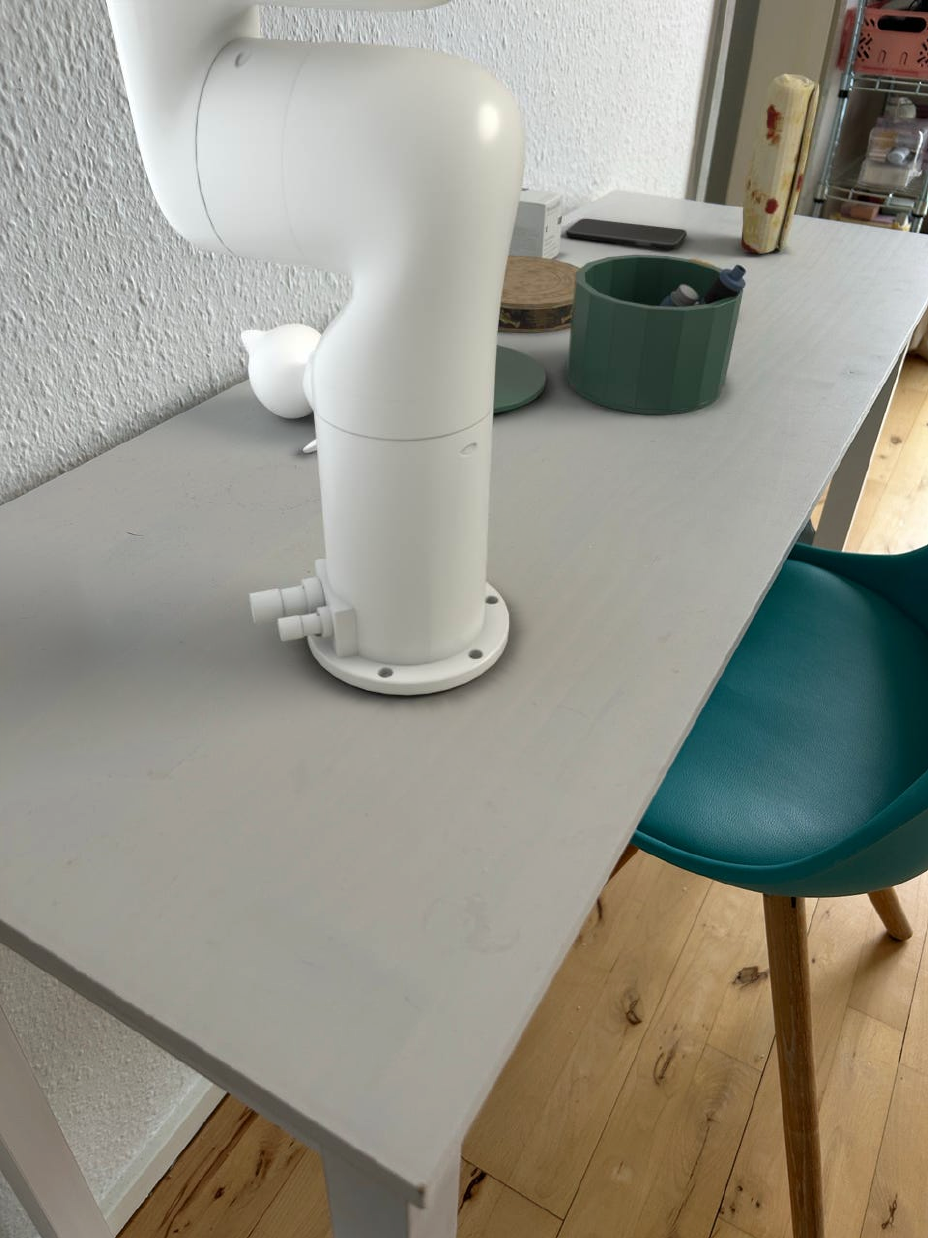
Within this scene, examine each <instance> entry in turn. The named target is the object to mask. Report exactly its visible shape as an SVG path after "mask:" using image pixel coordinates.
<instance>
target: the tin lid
mask: <svg viewBox="0 0 928 1238" xmlns="http://www.w3.org/2000/svg"><path fill="white" fill-rule="evenodd" d="M546 382H547V375H546V371H545V369H544V368H543V366H542V365H541V364H540V363H539V362H538V361H537V360H535V359H534V358H532V357H531V356H529V355H528V354H525V353H523V352H521V351H520V350H516V349H513V348H510V347H506V346H502V345H500V344H497V347H496V362H495V383H494V403H493V414H497V413H502V412H506V411H510V410H511V411H512V410H514V409H516V408H517V409H518V408H520V407H522V406H525V405H527V404H529V403H531V402H533V400H535V399H537V398H538V397H539V396H540V395H541V394H542V393H543V391H544V390H545V387H546Z"/></svg>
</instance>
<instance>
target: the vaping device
mask: <svg viewBox="0 0 928 1238" xmlns="http://www.w3.org/2000/svg"><path fill="white" fill-rule="evenodd" d="M746 273H747V270H746V268H745V267H744V266H742V265H741V264H735V265H734V267H733V268H732V269H731V268H723V271H722V272H721V274H720V275H719V276H718V278H717V279H716V280H715V282H714V283H713V284H712V286H711V287H710V289H709V290H708V291H707V293H706V294H705V295H704V297H703V298H702V299H701V301H700V302H699V303H698V302H696V301H697V300H698V298H699V296H698V294H697V292H696V291H695V290H694V289H692V288H691V287H689V286H687V285H684V284H682V285H680V286H679V287H678V289H677V290H676V292H672V293H671V295H670V296H667V297H666V298H665V299H664V300H663V302H662V303H661V304H660V306H667V307H686V306H695V305H705V304H711V303H713V302H716V301H719V300H722V299H725V298H727V297H732V296H734V297H735V296H738V295H739V293H740V292H741V291H742V289H743V290H744V289H745V287H746V284H747V283H746V281H745V279H744V278H743V277H745V275H746ZM733 292H736V293H733Z"/></svg>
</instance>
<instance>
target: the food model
mask: <svg viewBox="0 0 928 1238" xmlns="http://www.w3.org/2000/svg"><path fill="white" fill-rule="evenodd" d="M819 95H820V84H819V82H816V81H813V80H810V79H809V78H807V77H806V76H804V75H801V74H787V73H783V74H780V75H778V76H776V77H774V78H773V79H772V81H770V83H769V85H768V88H767V92H766V96H765V98H764V103H763V105H762V106H763V107H762V110H761V114H760V118H759V122H758V124H757V128H756V132H755V136H754V140H753V146H752V151H751V154H750V160H749V165H748V169H747V173H746V179H745V187H744V195H743V196H744V197H743V204H742V226H741V240H740V241H741V242H740V243H741V247H742V249H744V251H745V252H746V253H755V254H767V253H770V252H773V251H774V250H776V248H777V247H778V249H779V251H783V250H785V248H786V246H787V243H788V239H789V235H790V232H791V227H792V223H793V219H794V215H795V212H796V207H797V203H798V199H799V195H800V191H801V187H802V182H803V179H804V173H805V169H806V164H807V159H808V155H809V149H810V148H809V147H810V142H811V141H810V140H811V138H812V131H813V127H814V122H815V117H816V112H817V108H818V102H819Z"/></svg>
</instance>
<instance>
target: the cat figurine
mask: <svg viewBox="0 0 928 1238" xmlns="http://www.w3.org/2000/svg"><path fill="white" fill-rule="evenodd" d="M321 335H322V334H321V333H320V332H319V331H318V330H316V329H315V328H314V327H311V326H309V325H306V324H302V323H296V322H295V323H286V324H285V323H284V324H281V325H278V326H275V327H274V328H271V329H269V330H260V329H245V330H242V332H241V333H240V338H241V341H242V344H243V345H244V348H245V349H246V351H247V353H248V364H247V365H248V367H247V369H248V370H247V371H248V372H247V373H248V379H249V383H250V387H251V389H252V390H253V392H254V395H255V396H256V397H257V399H258V401H259V402H260V403H261V404H262V405H263V406H264V407H265V408H266V409H267V410H268V411H270V412H271V413H273V414H274V415H276V416H279V417H281V418H286V419H300V418H304V417H306V416H309V415H311V414H312V413H314V406H313V399H312V386H311V369H312V360H313V356H314V352H315V348H316V346H317V344H318V341H319V339H320V337H321ZM302 452H303V453H305V454H310V453H313V452H317V442H316V438H315V439H313V440H312V441H311V442H309V443H308V444H307V445H305V446H304V447H303V449H302Z"/></svg>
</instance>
